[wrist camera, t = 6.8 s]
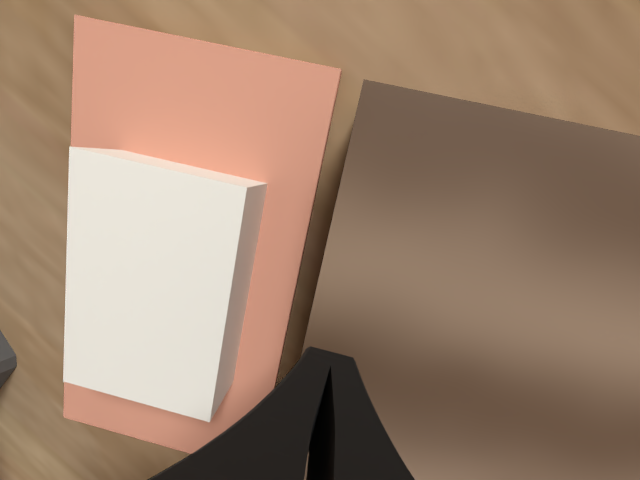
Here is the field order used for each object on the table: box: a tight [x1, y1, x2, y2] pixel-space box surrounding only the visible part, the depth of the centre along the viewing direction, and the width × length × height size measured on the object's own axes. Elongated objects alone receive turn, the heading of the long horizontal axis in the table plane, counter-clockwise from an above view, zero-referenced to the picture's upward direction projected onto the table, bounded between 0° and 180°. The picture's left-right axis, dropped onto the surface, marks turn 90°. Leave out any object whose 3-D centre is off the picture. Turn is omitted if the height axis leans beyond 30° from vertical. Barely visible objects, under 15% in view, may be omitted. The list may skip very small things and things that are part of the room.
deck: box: [301, 80, 640, 480], centre depth 11 cm, size 16×16×4 cm
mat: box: [63, 15, 342, 454], centre depth 14 cm, size 18×10×1 cm, turn 168°
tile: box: [63, 147, 268, 422], centre depth 13 cm, size 9×6×2 cm, turn 168°
